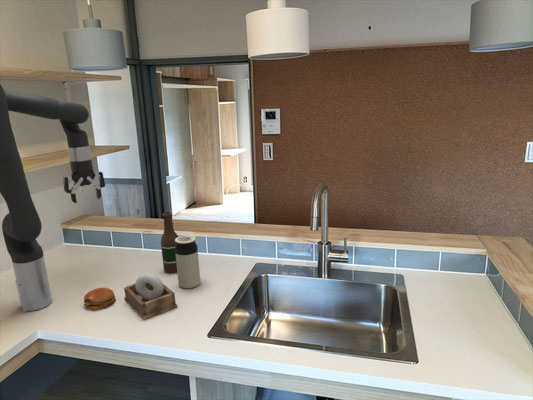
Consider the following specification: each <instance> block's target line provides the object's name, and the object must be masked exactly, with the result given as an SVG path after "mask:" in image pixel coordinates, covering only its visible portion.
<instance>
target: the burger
mask: <svg viewBox="0 0 533 400" xmlns="http://www.w3.org/2000/svg"><path fill="white" fill-rule="evenodd" d="M83 302H84V304H83V306H85V308H87V309H89V310H90V311H100V310H104V309H107V307H109V306H111V305H113V304H114V303H115V302H116V296H115V292H114V291H113V289H110V288H108V287H97V288H94V289H92V290H89V291H88V292H87V293H86V294H85V295H84V297H83Z"/></svg>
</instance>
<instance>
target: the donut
mask: <svg viewBox="0 0 533 400" xmlns="http://www.w3.org/2000/svg"><path fill="white" fill-rule="evenodd" d="M135 283H136V284H135ZM135 283H134V284H135V288H136V291H137V293H138V294H139V295H140V296H141V297H142V298H143V299H145V300H148V301H150V300H153V299H156V298H159V297H161V296H162V294H163V290H164V286H163V284H164V283H163V281H162V280H161V278H160V277H159V276H158V275H156V274H155V273H151V272H146V273H142V274H140V275H139V276H138V277H137V278H136V280H135ZM146 283H149V284H151V285H152V286H153V291H150V290H148V289H147V288H146Z"/></svg>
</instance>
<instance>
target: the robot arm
mask: <svg viewBox="0 0 533 400" xmlns="http://www.w3.org/2000/svg"><path fill="white" fill-rule="evenodd" d="M10 112H14V113H18V114H23V115H29V116H32V117H38V118H42V119H46V120H54V121H55V120H59V121H60V125H61V128H62V129H63V131H64V133H65V135H66V136H65V137H66V141H67V142H66V143H67V147H68V160H69V164H70V172H71V175H70V176H65V175H64V176H62V182H63V191H64V192H65V193H67V194H70V199H71V202H73V204H77V203H78V200H77V195H76V192H77V190H78V189H79V187H84V186H90V185H92V186H93V187H94V188H95V195H96V199H97V200H100V199H101V198H102V191H101V189H102V188H105V187H106V182H105V178H104V173H103V172H102V171H100V170H99V171H98V172H97V171H96V172H95V171H94V167H93V166H94V165H93V159H92V152H91V149H90V144H89V138H88V133H87V132H86V131H85V130H83V129H82V128H80V124H83V123H84V124H85V123H86V122H87V121H88V119H89V117H90V112H89V110H88V108H87V107H86V106H84V105H83V104H81V103H79V102H78V103H77V102H71V101H64V100H58V99H55V98H51V97H47V96H42V95H38V94H32V93H31V94H30V93H24V92H16V91H10V90H5V89H4V87H3V85H2V84H1V83H0V195H1V196H2V198H3V199H4V202H5V204H6V206H7V210H8V213H7V214H6V215H5V216H4V217H3V219H2V221H1V222H2V223H1V230H2V237H3V239H4V243H5V248H6V251H7V254H8V255H9V256H10V258H11V262H12V268H13V271H14V276H15V284H16V288H17V294H18V297H19V302H20V306H21V309H22V311H23V313H25V312H32V311H37V310H41V309H44V308H46V307H48V306H49V305H51V304H52V302H53V297H52V291H51V288H50V282H49V276H48V271H47V266H46V261H45V255H44V251H43V250H44V249H43V248H42V246H41V245H40V244H39V242H38V240H37V239H38V238H39V236H40V234H41V233H42V228H43V226H42V220H41V218H40V215H39V214H38V211H37V209H36V206H35V204H34V201H33V198H32V196H31V192H30V188H29V185H28V180H27V178H26V174H25V170H24V165H23V163H22V159H21V155H20V152H19V149H18V146H17V142H16V139H15V135H14V132H13V128H12V124H11V118H10ZM95 177H97V179H98V181H99V184H98V183H97V182H96V181H95ZM71 180H72V181H73V183H72V185H71V188H70V187H69V185H70V184H69V183H70V182H71Z"/></svg>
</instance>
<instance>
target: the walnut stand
mask: <svg viewBox="0 0 533 400" xmlns="http://www.w3.org/2000/svg"><path fill="white" fill-rule="evenodd" d="M135 284H136V282H135V283H132V284H129V285H127V286H125V287H124V289H123V291H124V297H123V298H124V301H125V302H126V304H128V305H129V306H130V307H131V308H132V310H134V311H135V312H136V314H137V315H138V316H139V317H140V318H141V319H142V320H143V321H145V320H148V319H150V318H153V317H156V316H158V315H159V316H160V315H161V314H164V313H166V312H169V311H171V310H175V309H177V308H178V304H177V303H176V295H175V292H174V291H173V290H171V288H170V287H168V286H166V284H164V283H163V286H164V290H163V294H162V296H161V297H159V298H156V299H153V300H150V301H148V300H145V299H143V298H142V297H141V296H140V295H139V294H138V293H137V291H136V288H135ZM146 288H147V289H148V290H150V291H153V286H152V285H151V284H149V283H146Z"/></svg>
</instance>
